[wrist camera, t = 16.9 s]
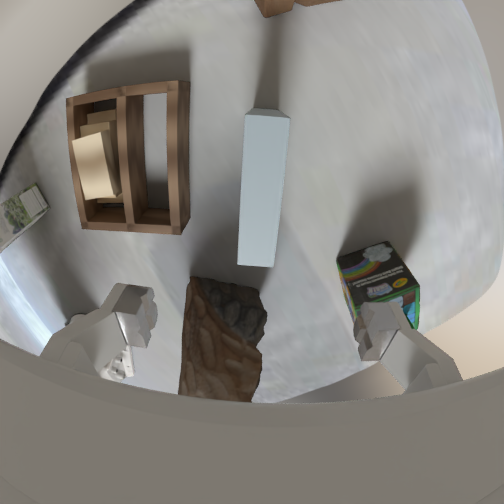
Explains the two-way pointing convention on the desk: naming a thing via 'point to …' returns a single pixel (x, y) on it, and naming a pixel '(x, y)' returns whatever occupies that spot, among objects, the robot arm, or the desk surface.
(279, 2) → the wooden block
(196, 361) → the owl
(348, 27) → the desk surface
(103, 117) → the long pine offcut
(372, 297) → the chalk box
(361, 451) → the robot arm
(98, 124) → the middle pine offcut
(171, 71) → the desk surface
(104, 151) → the short pine offcut
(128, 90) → the walnut rack
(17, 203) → the syrup box
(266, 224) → the tall sheet
